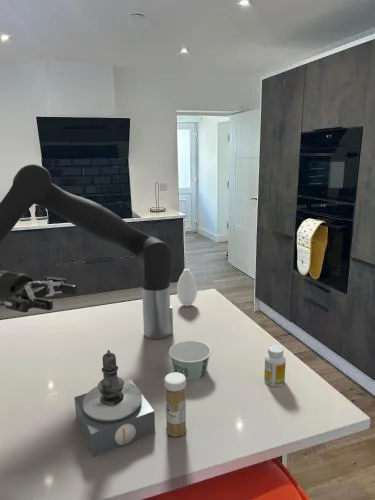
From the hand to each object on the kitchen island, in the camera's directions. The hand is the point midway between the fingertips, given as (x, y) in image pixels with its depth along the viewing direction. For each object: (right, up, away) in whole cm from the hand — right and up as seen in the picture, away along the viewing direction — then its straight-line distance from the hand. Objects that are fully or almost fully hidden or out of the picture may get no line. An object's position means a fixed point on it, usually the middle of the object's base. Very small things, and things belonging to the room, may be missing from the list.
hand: (64, 297), depth 84 cm
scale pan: (+10, -25, +2) cm, 27 cm away
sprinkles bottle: (+25, -30, +1) cm, 39 cm away
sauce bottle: (+27, -12, +70) cm, 76 cm away
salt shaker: (+10, -23, +2) cm, 25 cm away
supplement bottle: (+51, -25, +19) cm, 60 cm away
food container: (+28, -24, +24) cm, 44 cm away
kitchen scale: (+11, -29, +3) cm, 31 cm away
